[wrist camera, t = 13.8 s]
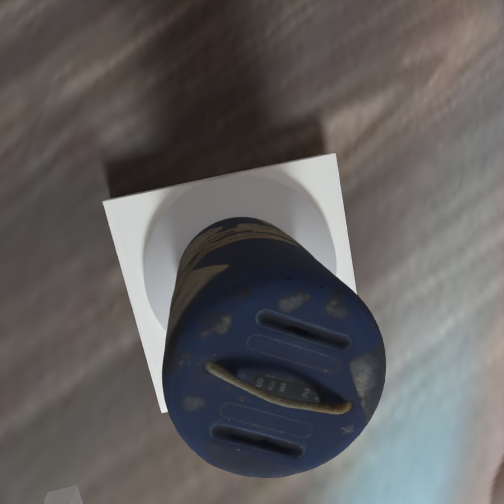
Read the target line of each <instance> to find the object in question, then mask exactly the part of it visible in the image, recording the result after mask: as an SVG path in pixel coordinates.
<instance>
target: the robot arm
mask: <svg viewBox="0 0 504 504" xmlns="http://www.w3.org/2000/svg"><path fill="white" fill-rule="evenodd" d="M43 504H83V502H82V499H81V496H80V493H79V491H78V488H77V485H75V486H71V487H67V488H63V489H60V490H56V491H52V492H48V493H47V496H46V498H45V500H44V502H43Z"/></svg>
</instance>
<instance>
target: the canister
mask: <svg viewBox="0 0 504 504" xmlns="http://www.w3.org/2000/svg"><path fill="white" fill-rule="evenodd" d="M385 374H386V356H385V348H384V343H383V339H382V336H381V333H380V330H379V327H378V325H377V323H376V321H375V319H374V317H373V315H372V313H371V312H370V310H369V309H368V307H367V306H366V304H365V303H364V302H363V301H362V300H361V299H360V297H359V296H358V295H357V294H356V293H355V292H354V291H353V290H352V289H351V288H350V287H349V286H347V285H346V284H345V283H344V282H342V281H341V280H340V279H339V278H338V277H337V276H335V275H334V274H333V273H332V272H331V271H330V270H328V269H327V268H326V267H325V266H324V265H323V264H322V263H320V262H319V261H318V260H316V259H315V258H314V256H313V255H312V254H311V253H310V252H308V251H307V250H306V249H305V248H304V247H303V246H302V245H300V244H299V243H298V242H297V241H296V240H294V239H293V238H292V237H291V236H289V235H287V234H286V233H285V232H283V231H282V230H281V229H279V228H278V227H276V226H274V225H273V224H271V223H269V222H266V221H264V220H261V219H257V218H251V217H233V218H228V219H224V220H221V221H218V222H215V223H213V224H211V225H210V226H208V227H206V228H205V229H203V230H202V231H201V232H200V233H198V234H197V235H196V236H195V237H194V238H193V239H192V241H191V242H190V243H189V244H188V246H187V247H186V249H185V251H184V253H183V255H182V257H181V260H180V262H179V266H178V270H177V275H176V282H175V288H174V292H173V295H172V299H171V304H170V313H169V319H168V326H167V333H166V339H165V350H164V356H163V364H162V387H163V394H164V400H165V403H166V407H167V410H168V413H169V415H170V418H171V420H172V422H173V424H174V426H175V428H176V429H177V431H178V433H179V435H180V436H181V437H182V438H183V440H184V441H185V442H186V443H187V445H188V446H189V447H190V448H191V449H192V450H193V451H195V452H196V453H197V454H198V455H199V456H200V457H201V458H203V459H204V460H205V461H206V462H208V463H209V464H211V465H212V466H215V467H217V468H220V469H222V470H225V471H228V472H231V473H234V474H238V475H242V476H248V477H258V478H279V477H285V476H289V475H293V474H297V473H301V472H305V471H308V470H311V469H313V468H316V467H318V466H320V465H322V464H324V463H326V462H327V461H329V460H331V459H332V458H334V457H336V456H337V455H339V454H340V453H341V452H342V451H344V450H345V449H346V448H347V447H348V446H349V445H350V444H351V443H352V442H353V441H354V440H355V439H356V438H357V437H358V436H359V435H360V433H361V432H362V431H363V429H364V428H365V427H366V425H367V424H368V422H369V421H370V419H371V418H372V416H373V414H374V412H375V410H376V408H377V406H378V403H379V401H380V398H381V395H382V391H383V387H384V383H385Z"/></svg>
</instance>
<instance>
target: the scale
mask: <svg viewBox="0 0 504 504" xmlns="http://www.w3.org/2000/svg"><path fill="white" fill-rule="evenodd" d="M103 205H104V208H105V212H106V215H107V219H108V222H109V226H110V230H111V233H112V237H113V240H114V244H115V248H116V251H117V255H118V258H119V262H120V265H121V269H122V273H123V276H124V280H125V283H126V287H127V291H128V294H129V298H130V301H131V305H132V308H133V312H134V316H135V319H136V323H137V326H138V330H139V334H140V337H141V341H142V344H143V348H144V351H145V355H146V359H147V362H148V366H149V369H150V373H151V377H152V380H153V384H154V387H155V391H156V395H157V398H158V402H159V405H160V409H161V412H162V413H165V412H168V410H167V407H166V403H165V400H164V394H163V387H162V364H163V356H164V350H165V339H166V333H167V326H168V319H169V313H170V304H171V299H172V295H173V292H174V288H175V282H176V275H177V270H178V266H179V262H180V260H181V257H182V255H183V253H184V251H185V249H186V247H187V246H188V244H189V243H190V242H191V241H192V239H193V238H194V237H195V236H196V235H197V234H198V233H200V232H201V231H202V230H203V229H205V228H206V227H208V226H210V225H211V224H213V223H215V222H218V221H221V220H224V219H228V218H233V217H251V218H257V219H261V220H264V221H266V222H269V223H271V224H273V225H274V226H276V227H278V228H279V229H281V230H282V231H283V232H285V233H286V234H287V235H289V236H291V237H292V238H293V239H294V240H296V241H297V242H298V243H299V244H300V245H302V246H303V247H304V248H305V249H306V250H307V251H308V252H310V253H311V254H312V255H313V256H314V258H315V259H316V260H318V261H319V262H320V263H322V264H323V265H324V266H325V267H326V268H327V269H328V270H330V271H331V272H332V273H333V274H334V275H335V276H337V277H338V278H339V279H340V280H341V281H342V282H344V283H345V284H346V285H347V286H349V287H350V288H351V289H352V290H353V291H354V292H355V293H356V286H355V279H354V273H353V266H352V259H351V253H350V246H349V240H348V233H347V226H346V220H345V213H344V206H343V200H342V193H341V187H340V180H339V173H338V167H337V160H336V153H329V154H321V155H316V156H311V157H307V158H302V159H297V160H292V161H287V162H283V163H278V164H273V165H268V166H263V167H259V168H254V169H249V170H244V171H239V172H235V173H230V174H225V175H220V176H215V177H211V178H206V179H201V180H196V181H191V182H186V183H182V184H177V185H172V186H167V187H162V188H158V189H153V190H148V191H143V192H138V193H134V194H129V195H124V196H119V197H114V198H110V199H108V200H105V201H103ZM356 294H357V293H356Z"/></svg>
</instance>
